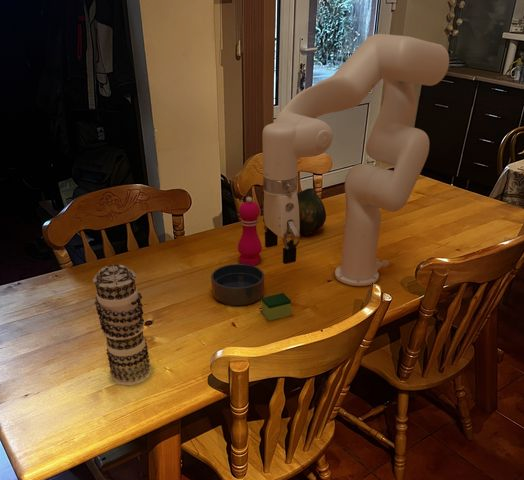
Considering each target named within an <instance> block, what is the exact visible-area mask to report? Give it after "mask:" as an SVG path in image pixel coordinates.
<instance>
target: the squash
mask: <svg viewBox="0 0 524 480" xmlns="http://www.w3.org/2000/svg"><path fill="white" fill-rule="evenodd" d="M297 197H298V204H299V224H300V230H299V234H300V236H301V235H303V236H309V235H311V234H312V233H317V232H319V231H320V230H321V228H322V227H323V226H324V224H325V222H326V220H327V214H326V208H325V204H324V202H323V201H322V199H321V197H320V196H319V195H318V193H317V191H316V190H315V189H314V187H313V188H312V187H311V188H310V187H309V188H305V189H303V190H301V191H299V192H297Z"/></svg>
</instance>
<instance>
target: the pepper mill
mask: <svg viewBox="0 0 524 480" xmlns="http://www.w3.org/2000/svg"><path fill="white" fill-rule="evenodd" d="M260 213H261V210H260V206H259V205H258V203H256V202H254V201H253V197H251V196H247V197H246V198H245V201H244V202H242V203H241V204H240V205H239V209H238V214H239V217H241V218H240V224H241V226H242V234H241V237H240V238H239V241H238V244H237V251H238V253H239V264H246V265H252V266H256V265H258V264H260V262H261V255H260V254H261V253H262V250H263V246H262V242H261V239H260V237H259V235H258V232H257V225H258V224H259V218H258V217H259V216H260Z"/></svg>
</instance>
